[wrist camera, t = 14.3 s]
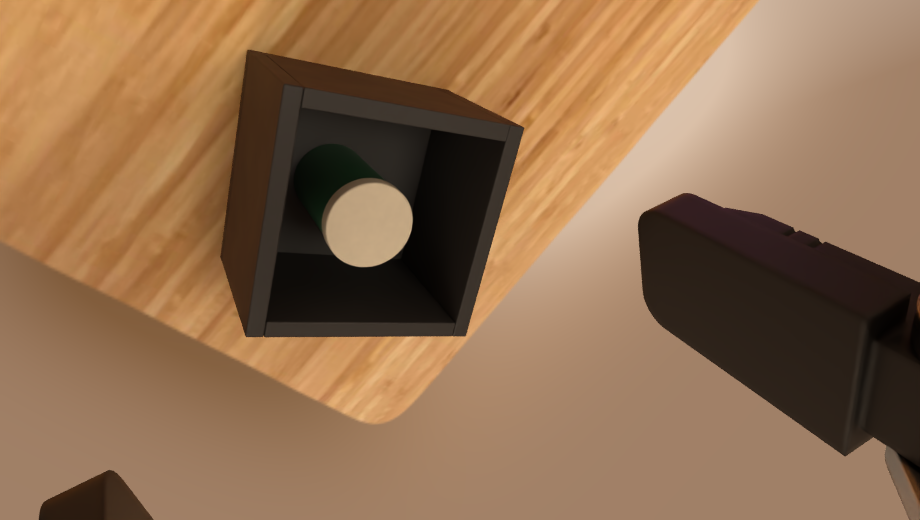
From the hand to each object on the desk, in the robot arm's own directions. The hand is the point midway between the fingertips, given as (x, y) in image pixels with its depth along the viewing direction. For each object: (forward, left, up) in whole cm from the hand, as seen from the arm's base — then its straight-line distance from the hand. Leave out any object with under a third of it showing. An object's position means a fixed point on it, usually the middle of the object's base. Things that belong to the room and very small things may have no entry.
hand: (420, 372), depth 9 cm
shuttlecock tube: (+7, -5, -26) cm, 28 cm away
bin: (+7, -5, -27) cm, 28 cm away
